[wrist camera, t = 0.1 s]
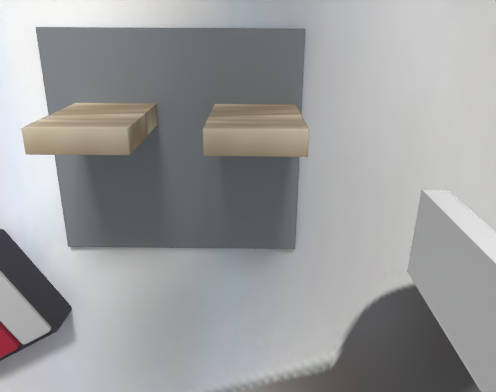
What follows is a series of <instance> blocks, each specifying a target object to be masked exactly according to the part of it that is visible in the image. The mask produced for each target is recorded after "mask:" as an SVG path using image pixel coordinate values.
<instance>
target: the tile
mask: <svg viewBox="0 0 496 392" xmlns="http://www.w3.org/2000/svg"><path fill="white" fill-rule="evenodd" d="M157 125H158V116H157V103H74V104H72V105H70V106H68V107H66V108H63V109H61V110H59V111H57V112H55V113H53V114H51V115H48V116H46V117H44V118H42V119H40V120H38V121H36V122H33V123H31V124H29V125H27V126H25V127H23V128H21V129H22V134H23V140H24V146H25V152H26V154H40V155H130V154H131V153H132V152H133V151H134V150H135V149H136V148H137V146H138V145H139V144H140V143H141V142H142V141H143V140H144V139H145V138H146V137H147V135H148V134H149V133H150V132H151V131H152V130H153V129H154V128H155V127H156V126H157Z"/></svg>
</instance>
